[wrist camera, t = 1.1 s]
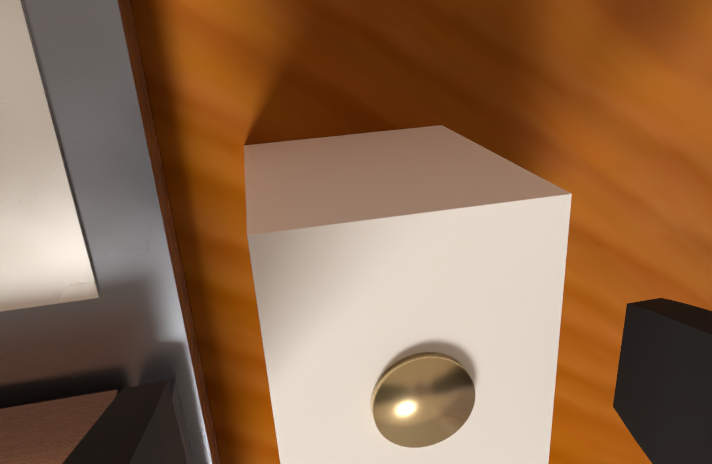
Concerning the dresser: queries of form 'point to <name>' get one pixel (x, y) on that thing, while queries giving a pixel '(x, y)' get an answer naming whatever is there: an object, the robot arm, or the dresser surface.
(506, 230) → the block
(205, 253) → the dresser surface
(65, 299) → the base plate
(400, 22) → the dresser surface
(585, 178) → the dresser surface
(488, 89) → the dresser surface
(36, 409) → the block
